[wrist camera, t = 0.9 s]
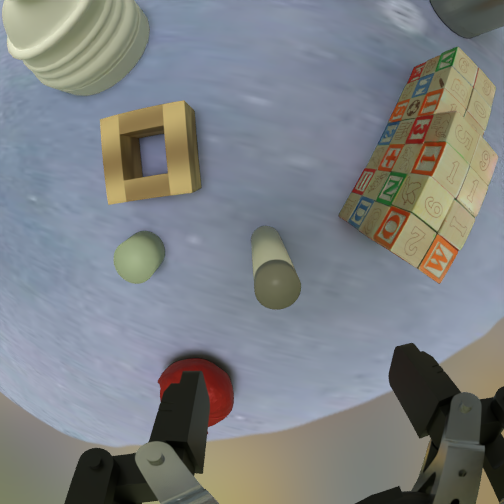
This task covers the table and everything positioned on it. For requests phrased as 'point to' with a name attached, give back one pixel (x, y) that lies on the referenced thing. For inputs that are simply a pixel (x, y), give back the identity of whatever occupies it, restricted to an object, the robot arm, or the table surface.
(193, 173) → the bead block
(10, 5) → the honey pot
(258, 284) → the cream capped cylinder
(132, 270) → the bead
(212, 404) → the pomegranate
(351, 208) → the stack of blocks
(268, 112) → the table surface
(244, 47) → the table surface
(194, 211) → the table surface
